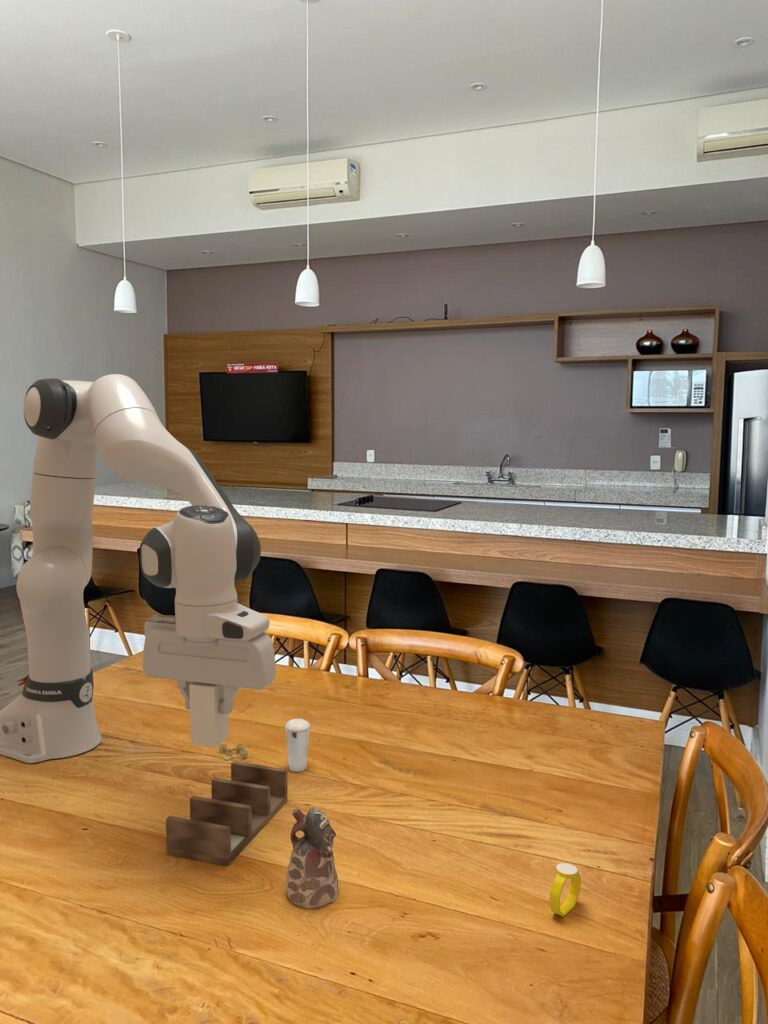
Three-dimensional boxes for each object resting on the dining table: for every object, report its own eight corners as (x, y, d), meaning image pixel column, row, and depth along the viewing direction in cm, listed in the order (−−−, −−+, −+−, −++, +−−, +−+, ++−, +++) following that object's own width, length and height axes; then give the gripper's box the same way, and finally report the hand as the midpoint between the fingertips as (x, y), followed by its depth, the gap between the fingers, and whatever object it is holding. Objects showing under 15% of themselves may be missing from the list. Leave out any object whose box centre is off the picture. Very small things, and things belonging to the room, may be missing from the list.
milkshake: (310, 775, 144) (310, 721, 143) (281, 772, 145) (281, 719, 144) (317, 764, 149) (317, 712, 147) (289, 761, 150) (289, 710, 149)
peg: (191, 744, 117) (189, 684, 116) (204, 733, 121) (203, 676, 120) (215, 747, 116) (213, 687, 115) (228, 737, 120) (227, 678, 118)
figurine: (331, 911, 105) (331, 825, 103) (279, 905, 106) (278, 819, 104) (343, 881, 112) (344, 799, 110) (294, 875, 113) (294, 794, 111)
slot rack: (166, 854, 118) (165, 818, 117) (234, 791, 138) (233, 761, 137) (227, 866, 115) (227, 830, 114) (287, 800, 135) (287, 769, 134)
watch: (565, 898, 109) (568, 856, 108) (584, 907, 107) (587, 863, 106) (543, 915, 104) (546, 871, 104) (562, 924, 102) (565, 880, 102)
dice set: (219, 753, 154) (219, 744, 154) (246, 751, 156) (246, 742, 155) (220, 765, 149) (220, 755, 149) (247, 762, 151) (247, 752, 150)
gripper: (131, 618, 116) (135, 710, 118) (260, 630, 110) (261, 726, 112) (156, 608, 122) (159, 695, 124) (279, 618, 116) (280, 710, 118)
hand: (209, 710), depth 118 cm, fingers closed on peg, 4 cm apart
